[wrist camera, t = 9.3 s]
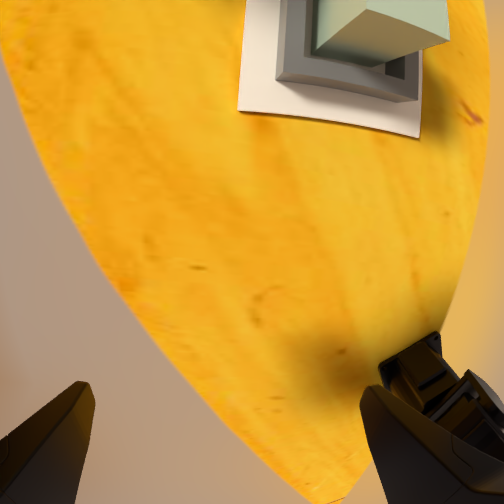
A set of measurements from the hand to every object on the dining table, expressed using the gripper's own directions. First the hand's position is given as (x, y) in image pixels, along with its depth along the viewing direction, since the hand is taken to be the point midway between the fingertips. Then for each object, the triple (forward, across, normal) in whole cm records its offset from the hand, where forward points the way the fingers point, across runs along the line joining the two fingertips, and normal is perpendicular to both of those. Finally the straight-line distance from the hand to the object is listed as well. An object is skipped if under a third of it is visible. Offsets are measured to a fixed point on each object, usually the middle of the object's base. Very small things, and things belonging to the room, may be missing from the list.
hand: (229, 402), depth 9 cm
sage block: (+12, -6, -15) cm, 20 cm away
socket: (+12, -6, -15) cm, 20 cm away
